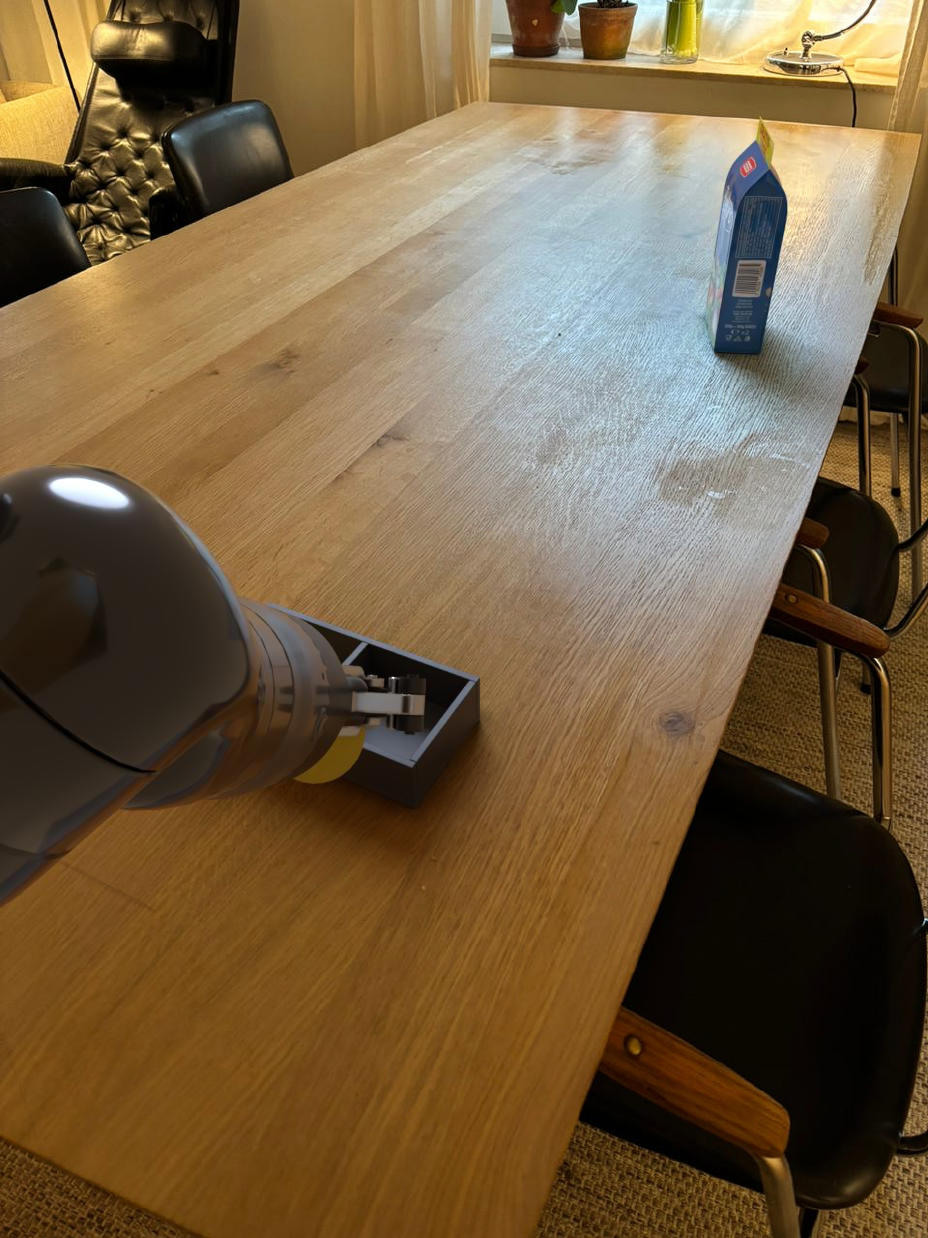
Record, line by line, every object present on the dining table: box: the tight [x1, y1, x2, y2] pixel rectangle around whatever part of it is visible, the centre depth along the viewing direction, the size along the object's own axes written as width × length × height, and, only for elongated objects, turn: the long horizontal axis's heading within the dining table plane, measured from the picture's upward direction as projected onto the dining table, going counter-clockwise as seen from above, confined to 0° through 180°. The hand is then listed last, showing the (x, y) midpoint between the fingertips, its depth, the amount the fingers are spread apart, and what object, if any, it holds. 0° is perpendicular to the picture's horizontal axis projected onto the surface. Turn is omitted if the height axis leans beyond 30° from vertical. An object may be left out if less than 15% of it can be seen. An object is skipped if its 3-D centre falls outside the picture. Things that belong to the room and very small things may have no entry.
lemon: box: [292, 726, 365, 785], centre depth 54 cm, size 6×6×8 cm
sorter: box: [265, 601, 481, 810], centre depth 77 cm, size 10×20×4 cm, turn 62°
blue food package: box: [704, 116, 789, 354], centre depth 123 cm, size 6×12×25 cm, turn 175°
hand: (319, 698), depth 55 cm, fingers closed on lemon, 5 cm apart
